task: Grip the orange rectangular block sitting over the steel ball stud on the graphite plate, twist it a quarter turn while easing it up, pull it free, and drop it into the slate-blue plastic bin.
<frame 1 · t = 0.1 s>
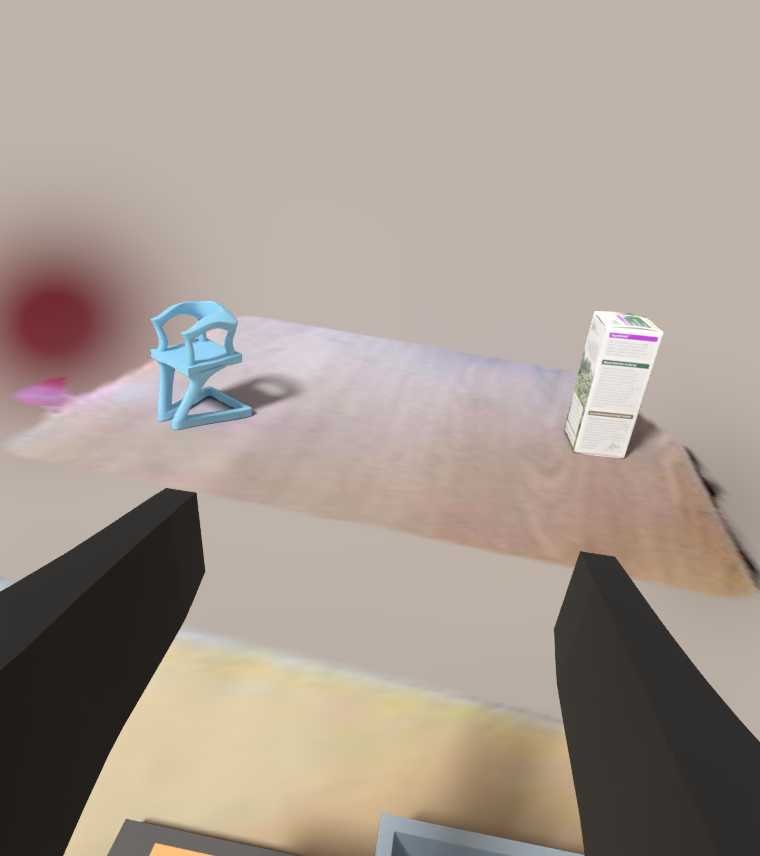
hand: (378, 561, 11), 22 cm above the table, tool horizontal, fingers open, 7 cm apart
syrup box: (591, 445, 65), on the table
chair: (200, 415, 63), on the table
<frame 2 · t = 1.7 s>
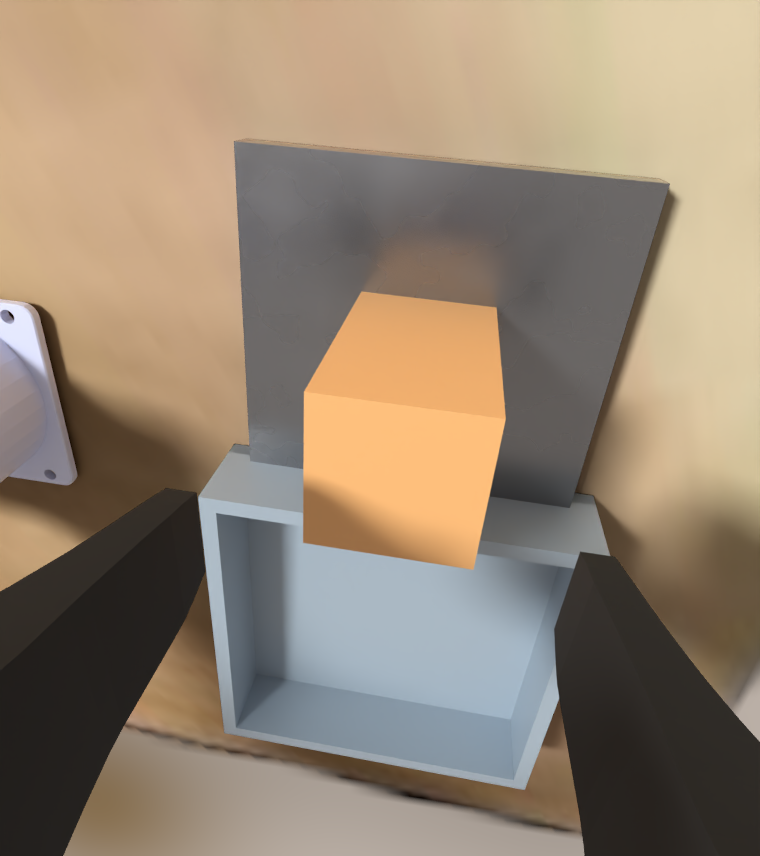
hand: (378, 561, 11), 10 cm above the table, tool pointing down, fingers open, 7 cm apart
stud plate: (423, 349, 20), on the table
orange rectangular block: (420, 361, 19), point 1 cm above the table, touching stud plate
slate bin: (393, 596, 26), on the table
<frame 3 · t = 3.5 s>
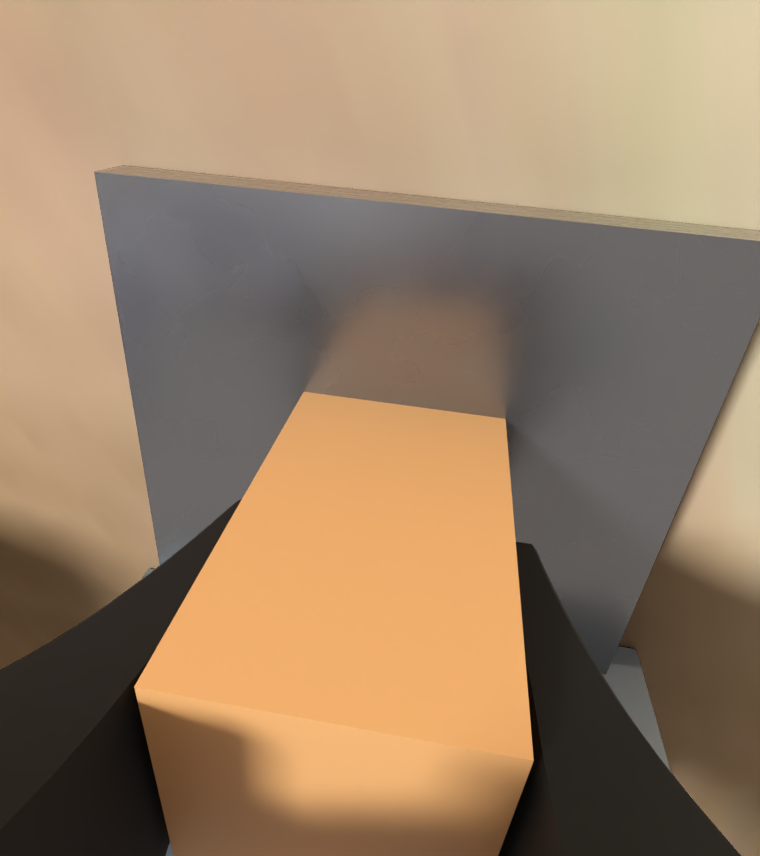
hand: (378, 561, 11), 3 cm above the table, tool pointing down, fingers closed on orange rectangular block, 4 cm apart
stud plate: (399, 462, 14), on the table
orange rectangular block: (394, 486, 13), point 1 cm above the table, touching gripper, stud plate
slate bin: (368, 748, 20), on the table
when the fingers open (5 cm above the table, at t = 7.5 s): orange rectangular block drops 2 cm, resting on slate bin.
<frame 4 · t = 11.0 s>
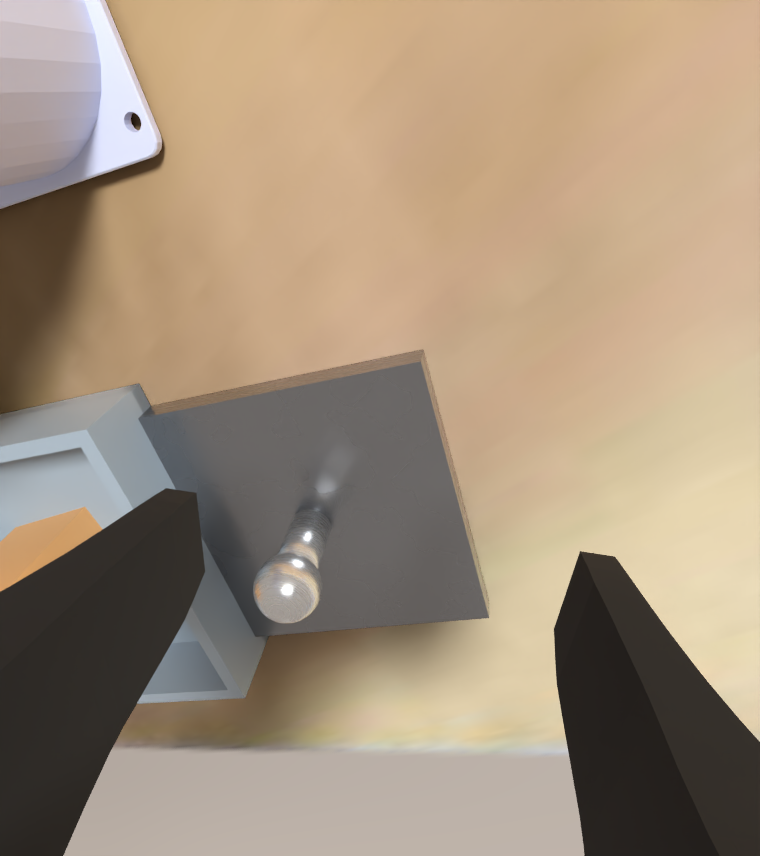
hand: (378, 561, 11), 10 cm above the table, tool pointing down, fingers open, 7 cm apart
stud plate: (317, 509, 24), on the table
orange rectangular block: (77, 551, 27), point 1 cm above the table, touching slate bin
slate bin: (81, 542, 27), on the table
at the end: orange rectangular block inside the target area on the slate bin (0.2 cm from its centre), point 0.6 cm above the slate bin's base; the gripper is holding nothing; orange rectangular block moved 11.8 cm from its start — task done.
